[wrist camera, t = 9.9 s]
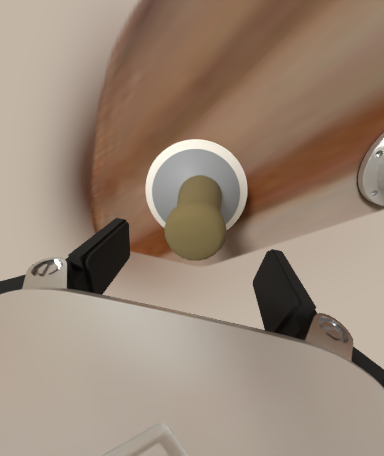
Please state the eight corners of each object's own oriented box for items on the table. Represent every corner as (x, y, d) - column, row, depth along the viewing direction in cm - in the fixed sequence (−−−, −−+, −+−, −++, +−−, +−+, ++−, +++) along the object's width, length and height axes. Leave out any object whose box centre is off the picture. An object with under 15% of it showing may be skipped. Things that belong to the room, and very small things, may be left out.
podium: (253, 149, 23) (264, 150, 18) (227, 232, 29) (231, 247, 25) (157, 131, 23) (145, 129, 18) (153, 219, 29) (144, 232, 25)
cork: (231, 188, 21) (251, 227, 11) (208, 224, 24) (209, 281, 14) (189, 166, 20) (172, 188, 10) (171, 206, 23) (144, 254, 13)
